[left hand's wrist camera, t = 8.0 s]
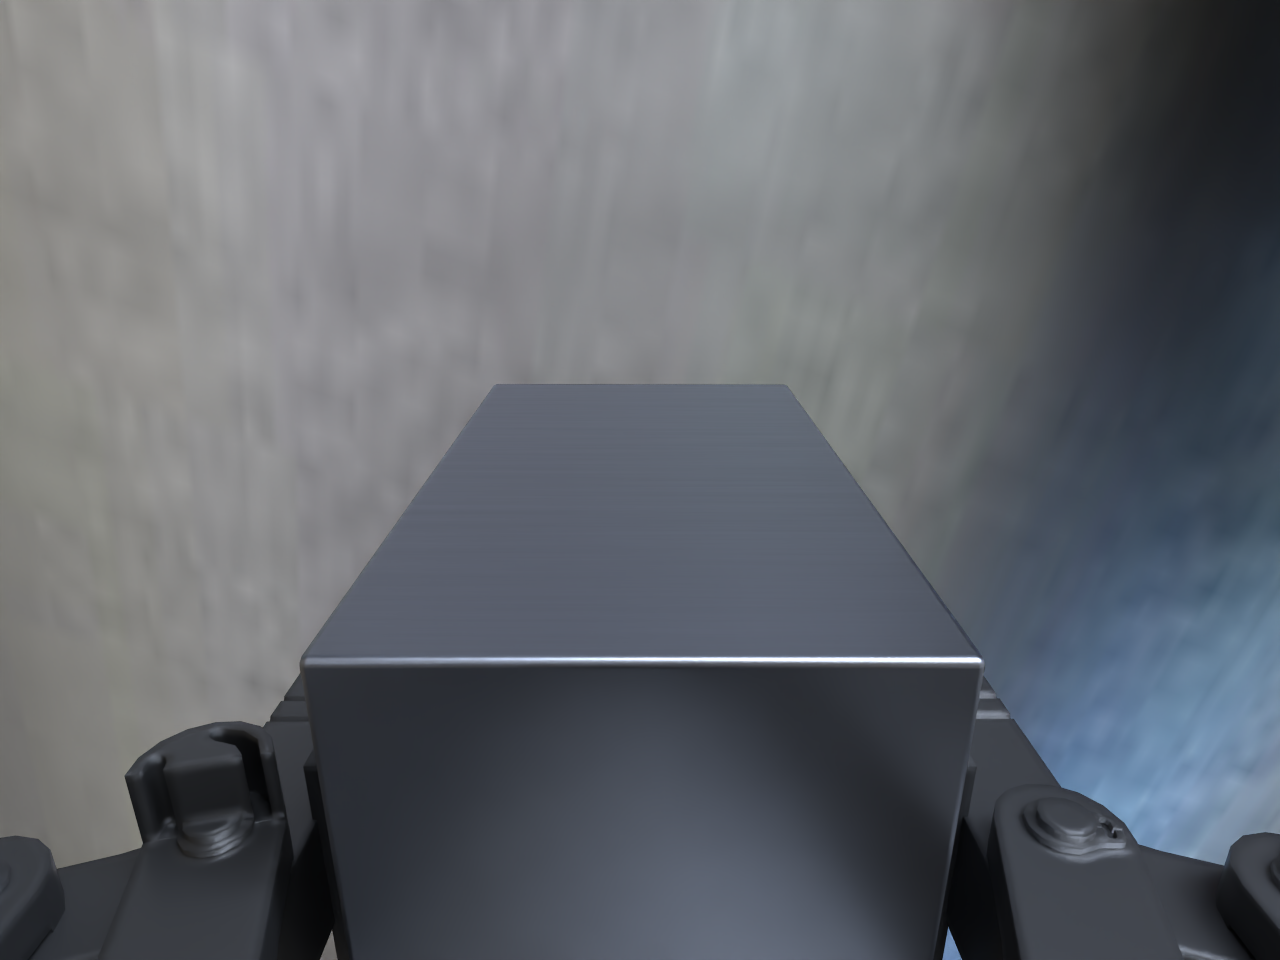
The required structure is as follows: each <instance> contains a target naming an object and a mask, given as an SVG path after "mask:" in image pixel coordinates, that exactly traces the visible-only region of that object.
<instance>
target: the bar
mask: <svg viewBox="0 0 1280 960" xmlns="http://www.w3.org/2000/svg"><path fill="white" fill-rule="evenodd" d="M984 670H985V662H984V659H983V656H982V655H981V654H980V652H979V651H978V649H977V648H976V647H975V645H974V644H973V643H972V641H971V640H970V638H969V637H968V636H967V634H966V633H965V631H964V630H963V629H962V627H961V626H960V625H959V623H958V622H957V620H956V619H955V618H954V616H953V615H952V613H951V612H950V611H949V609H948V608H947V607H946V605H945V604H944V602H943V601H942V600H941V598H940V597H939V595H938V594H937V593H936V591H935V590H934V589H933V587H932V586H931V584H930V583H929V582H928V580H927V579H926V577H925V576H924V575H923V573H922V572H921V571H920V569H919V568H918V566H917V565H916V564H915V562H914V561H913V559H912V558H911V557H910V555H909V554H908V553H907V551H906V550H905V548H904V547H903V546H902V544H901V543H900V541H899V540H898V539H897V537H896V536H895V535H894V533H893V532H892V530H891V529H890V528H889V526H888V525H887V523H886V522H885V521H884V519H883V518H882V516H881V515H880V514H879V512H878V511H877V510H876V508H875V507H874V505H873V504H872V503H871V501H870V500H869V498H868V497H867V496H866V494H865V493H864V492H863V490H862V489H861V487H860V486H859V485H858V483H857V482H856V480H855V479H854V478H853V476H852V475H851V474H850V472H849V471H848V469H847V468H846V467H845V465H844V464H843V462H842V461H841V460H840V458H839V457H838V456H837V454H836V453H835V451H834V450H833V449H832V447H831V446H830V444H829V443H828V442H827V440H826V439H825V438H824V436H823V435H822V433H821V432H820V431H819V429H818V428H817V426H816V425H815V424H814V422H813V421H812V420H811V418H810V417H809V415H808V414H807V413H806V411H805V410H804V408H803V407H802V406H801V404H800V403H799V402H798V400H797V399H796V397H795V396H794V395H793V393H792V392H791V390H790V389H789V388H788V386H786V385H710V384H496V385H494V386H493V388H492V389H491V390H490V392H489V393H488V395H487V396H486V397H485V399H484V400H483V402H482V403H481V405H480V406H479V407H478V409H477V410H476V412H475V413H474V414H473V416H472V417H471V419H470V420H469V421H468V423H467V424H466V426H465V427H464V428H463V430H462V431H461V433H460V434H459V436H458V437H457V438H456V440H455V441H454V443H453V444H452V445H451V447H450V448H449V450H448V451H447V452H446V454H445V455H444V457H443V458H442V459H441V461H440V462H439V464H438V465H437V466H436V468H435V469H434V471H433V472H432V474H431V475H430V476H429V478H428V479H427V481H426V482H425V483H424V485H423V486H422V488H421V489H420V490H419V492H418V493H417V495H416V496H415V497H414V499H413V500H412V502H411V503H410V504H409V506H408V507H407V509H406V510H405V512H404V513H403V514H402V516H401V517H400V519H399V520H398V521H397V523H396V524H395V526H394V527H393V528H392V530H391V531H390V533H389V534H388V535H387V537H386V538H385V540H384V541H383V543H382V544H381V545H380V547H379V548H378V550H377V551H376V552H375V554H374V555H373V557H372V558H371V559H370V561H369V562H368V564H367V565H366V566H365V568H364V569H363V571H362V572H361V573H360V575H359V576H358V578H357V579H356V581H355V582H354V583H353V585H352V586H351V588H350V589H349V590H348V592H347V593H346V595H345V596H344V597H343V599H342V600H341V602H340V603H339V604H338V606H337V607H336V609H335V610H334V611H333V613H332V614H331V616H330V617H329V619H328V620H327V621H326V623H325V624H324V626H323V627H322V628H321V630H320V631H319V633H318V634H317V635H316V637H315V638H314V640H313V641H312V642H311V644H310V645H309V647H308V648H307V650H306V651H305V652H304V654H303V655H302V657H301V660H300V671H301V677H302V683H303V689H304V695H305V700H306V706H307V712H308V718H309V724H310V730H311V736H312V741H313V747H314V753H315V759H316V765H317V771H318V777H319V783H320V788H321V794H322V800H323V806H324V812H325V818H326V824H327V829H328V835H329V841H330V847H331V853H332V859H333V865H334V871H335V876H336V882H337V888H338V894H339V900H340V906H341V912H342V917H343V923H344V929H345V935H346V941H347V947H348V953H349V959H350V960H933V958H934V952H935V946H936V941H937V935H938V930H939V924H940V918H941V913H942V907H943V901H944V896H945V890H946V884H947V879H948V873H949V867H950V862H951V856H952V850H953V845H954V839H955V833H956V828H957V822H958V816H959V811H960V805H961V800H962V794H963V788H964V783H965V777H966V771H967V766H968V760H969V754H970V749H971V743H972V737H973V732H974V726H975V720H976V715H977V709H978V703H979V698H980V692H981V686H982V681H983V675H984Z"/></svg>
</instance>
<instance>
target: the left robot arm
mask: <svg viewBox="0 0 1280 960" xmlns="http://www.w3.org/2000/svg"><path fill="white" fill-rule="evenodd" d="M270 717H271V719H270V722H266V724H265V725H264V727H263V728H262V727H260V726H257V725H253V724H249V723H245V722H241V721H236V722H215V723H211V724H207V725H203V726H199V727H195V728H191V729H187V730H185V731H183V732H181V733H178V734H176V735H174V736H172V737H170V738H167V739H165V740H163V741H161V742H159V743H158V744H157V745H155V746H154V747H153V748H151V749H150V750H148V751H147V752H146V753H144V754H143V755H142V756H140V757H139V758H138V759H137V760H136V762H135V763H134V764H133V765H132V767H131V768H130V769H129V771H128V772H127V773H126V775H125V780H126V783H127V787H128V790H129V794H130V798H131V801H132V805H133V809H134V812H135V816H136V819H137V823H138V827H139V830H140V834H141V838H142V841H143V845H142V847H141V848H139V849H136V850H133V851H129V852H126V853H123V854H119V855H115V856H111V857H106V858H102V859H98V860H94V861H89V862H85V863H81V864H76V865H72V866H68V867H64V868H59V869H57V868H56V865H55V862H54V859H53V856H52V853H51V850H50V849H49V848H48V847H47V846H45V845H44V844H43V843H42V842H41V841H40V840H39V839H35V838H28V837H21V836H10V837H4V838H0V960H320V957H321V955H322V952H323V950H324V948H325V945H326V943H327V940H328V938H329V935H330V933H331V931H333V936H334V942H335V947H336V953H337V959H338V960H350V959H349V953H348V947H347V941H346V935H345V929H344V923H343V917H342V912H341V906H340V900H339V894H338V888H337V882H336V876H335V871H334V865H333V859H332V853H331V847H330V841H329V835H328V829H327V824H326V818H325V812H324V806H323V800H322V794H321V788H320V783H319V777H318V771H317V765H316V759H315V753H314V747H313V741H312V736H311V730H310V724H309V718H308V712H307V706H306V700H305V695H304V689H303V683H302V677H301V673H300V674H299V676H298V677H297V679H296V680H295V682H294V683H293V685H292V686H291V688H290V689H289V690H288V692H287V693H286V695H285V696H284V701H281V702H280V703H279V705H278V706H277V708H276V709H275V711H274V712H273V714H272V715H271V716H270ZM948 927H949V929H950V932H951V934H952V936H953V939H954V941H955V944H956V946H957V948H958V951H959V953H960V956H961V958H962V960H1280V834H1274V833H1267V832H1264V833H1257V834H1250V835H1244V836H1242V837H1241V838H1240V839H1239V840H1237V841H1236V842H1235V843H1234V844H1233V845H1232V846H1231V847H1230V850H1229V853H1228V856H1227V859H1226V862H1225V865H1224V866H1223V865H1219V864H1214V863H1210V862H1206V861H1201V860H1197V859H1193V858H1188V857H1184V856H1180V855H1176V854H1171V853H1167V852H1163V851H1159V850H1155V849H1152V848H1149V847H1146V846H1142V845H1139V844H1138V843H1137V841H1136V840H1135V838H1134V837H1133V835H1132V834H1131V832H1130V831H1129V829H1128V828H1127V826H1126V825H1125V823H1124V822H1122V821H1121V820H1120V819H1119V818H1118V817H1116V816H1115V815H1114V814H1113V813H1112V812H1110V811H1109V810H1108V809H1107V808H1106V807H1104V806H1103V805H1101V804H1099V803H1097V802H1095V801H1093V800H1091V799H1090V798H1088V797H1086V796H1084V795H1082V794H1080V793H1078V792H1075V791H1071V790H1067V789H1064V788H1061V786H1060V785H1059V783H1058V782H1057V781H1056V779H1055V778H1054V776H1053V775H1052V773H1051V772H1050V771H1049V769H1048V768H1047V766H1046V765H1045V763H1044V762H1043V760H1042V759H1041V758H1040V756H1039V755H1038V753H1037V752H1036V750H1035V749H1034V748H1033V746H1032V745H1031V743H1030V742H1029V740H1028V739H1027V737H1026V736H1025V735H1024V733H1023V732H1022V730H1021V729H1020V727H1019V726H1018V725H1017V723H1016V722H1015V720H1014V719H1011V718H1010V713H1009V712H1008V710H1007V709H1006V707H1005V706H1004V704H1003V703H1002V701H1001V700H1000V699H997V698H996V693H995V691H994V690H993V689H992V687H991V686H990V684H989V683H988V681H987V680H986V678H985V677H984V676H983V681H982V686H981V692H980V698H979V703H978V709H977V715H976V720H975V726H974V732H973V737H972V743H971V749H970V754H969V760H968V766H967V771H966V777H965V783H964V788H963V794H962V800H961V805H960V811H959V816H958V822H957V828H956V833H955V839H954V845H953V850H952V856H951V862H950V867H949V873H948V879H947V884H946V890H945V896H944V901H943V907H942V913H941V918H940V924H939V930H938V935H937V941H936V946H935V952H934V958H933V960H942V958H943V953H944V947H945V942H946V936H947V931H948Z"/></svg>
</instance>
